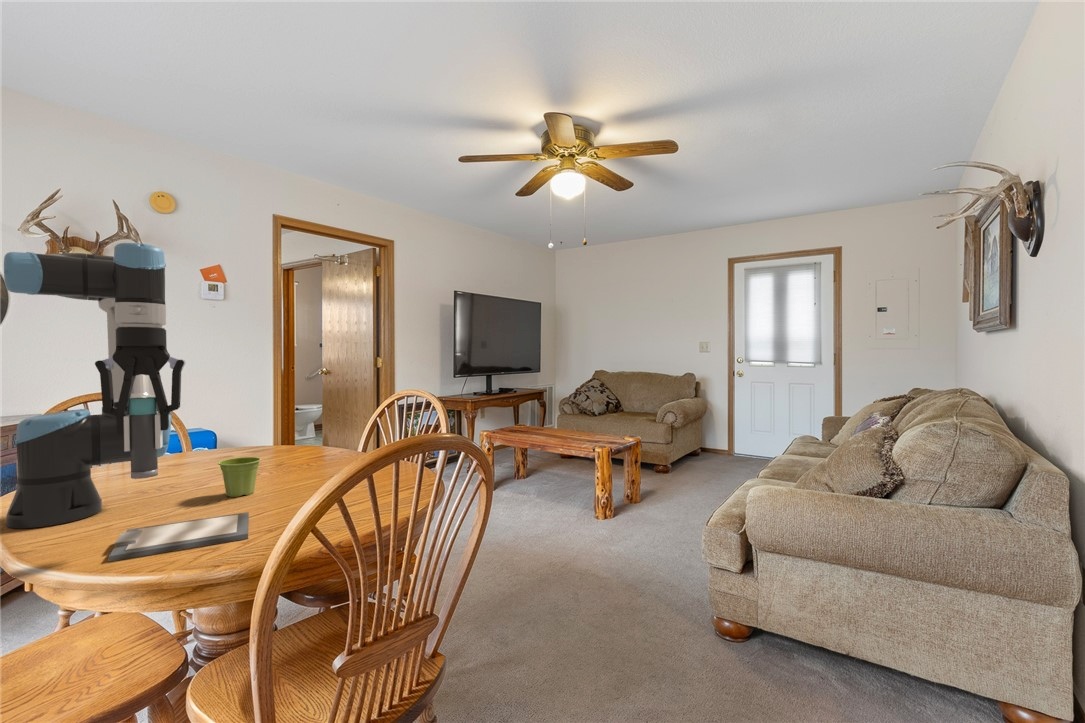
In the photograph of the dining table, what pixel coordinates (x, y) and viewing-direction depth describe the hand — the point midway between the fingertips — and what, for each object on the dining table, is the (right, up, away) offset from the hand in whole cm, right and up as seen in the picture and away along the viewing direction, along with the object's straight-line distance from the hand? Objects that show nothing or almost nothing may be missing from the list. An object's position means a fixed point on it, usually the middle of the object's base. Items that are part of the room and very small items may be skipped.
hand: (144, 448), depth 95 cm
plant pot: (-2, -18, +33) cm, 38 cm away
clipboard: (+6, -18, +4) cm, 19 cm away
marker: (0, -5, 0) cm, 5 cm away
